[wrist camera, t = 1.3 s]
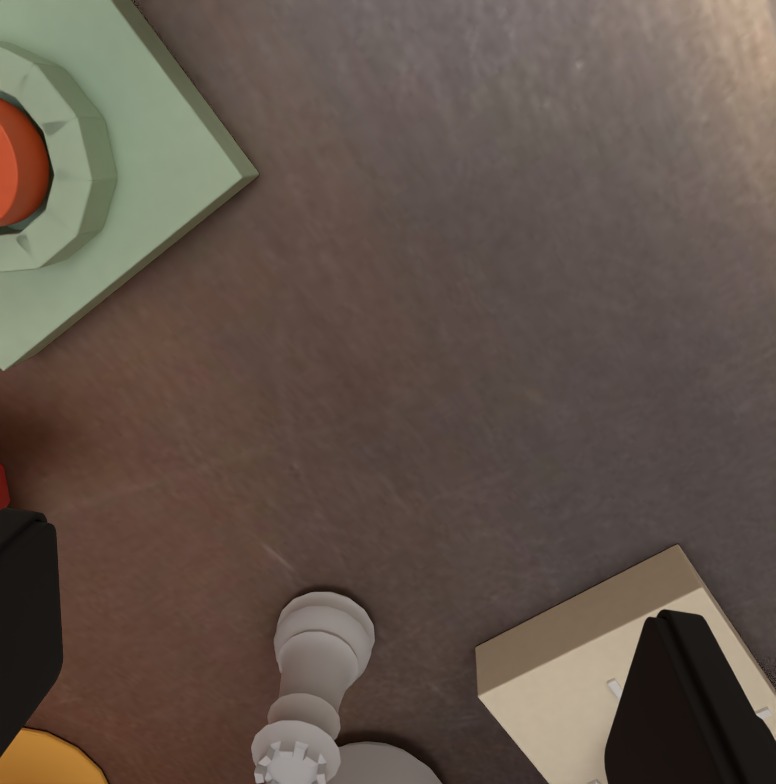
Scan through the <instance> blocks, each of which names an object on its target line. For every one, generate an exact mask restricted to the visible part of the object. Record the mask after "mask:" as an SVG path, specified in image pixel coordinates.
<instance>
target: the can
mask: <svg viewBox="0 0 776 784" xmlns="http://www.w3.org/2000/svg"><path fill="white" fill-rule="evenodd" d="M338 748H339V752H340V760H341V763H340V766H339V768H338V771H337V773H336V775H335V776H334V777H333V778H331V779H330V780H329V781H328V782H326V784H442V783H441V781H440V780H439V779H438V778H437V776H436V775H435V774H434V773H433V771H432V770H431V769H430V768H429V767H428V766H427V765H425V764H424V763H422V762H421V761H419V760H418V759H416V758H415V757H413V756H412V755H410V754H409V753H407V752H406V751H404V750H403V749H400V748H397V747H395V746H392V745H389V744H386V743H379V742H369V741H364V742H357V743H350V744H347V745H344V746H342V747H338Z"/></svg>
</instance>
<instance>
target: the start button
mask: <svg viewBox="0 0 776 784" xmlns="http://www.w3.org/2000/svg"><path fill="white" fill-rule="evenodd" d="M48 183H49V162H48V157H47V153H46V149H45V146H44V144H43V142H42V139H41V137H40V135H39V134H38V132H37V130H36V129H35V127H34V126H33V124H32V123H31V122H30V120H29V119H28V118H27V117H26V116H25V115H24V114H23V113H22V112H21V111H20V110H18V109H17V108H16V107H15V106H13V105H12V104H10V103H9V102H7V101H5V100H3V99H2V98H0V227H1V226H6V225H11V224H15V223H18V222H21V221H22V220H24V219H26V218H28V217H29V216H30V215H32V214H33V213H34V212H35V211H36V210H37V208H38V207H39V206H40V204H41V203H42V201H43V199H44V197H45V194H46V191H47V188H48Z"/></svg>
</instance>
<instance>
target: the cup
mask: <svg viewBox="0 0 776 784" xmlns="http://www.w3.org/2000/svg"><path fill="white" fill-rule="evenodd" d="M0 784H108V783H107V781H106V779H105V776H104V774H103V772H102V770H101V769H100V768H99V767H98V766H97V765H96V764H95V763H94V762H93V761H91V760H90V759H89V758H88V757H87V756H86V755H85V754H84V753H83V752H82V751H81V750H80V749H79V748H78V747H76V746H74V745H72V744H70V743H68V742H66V741H64V740H62V739H60V738H58V737H56V736H54V735H52V734H50V733H48V732H44V731H39V730H34V729H28V728H23V727H22V729H21V730H20V732H19V733H18V734H17V736H16V737H15V738H14V740H13V741H12V743H11V744H10V745H9V747H8V748H7V749H6V751H5V752H4V754H3V755H2V756H1V758H0Z"/></svg>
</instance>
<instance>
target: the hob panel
mask: <svg viewBox="0 0 776 784" xmlns="http://www.w3.org/2000/svg"><path fill="white" fill-rule="evenodd" d="M663 609H667V610H674V611H680V612H687V613H693V614H699V615H701V616H703V617H704V619H705V620H706V621H707V623H708V625H709V627H710V629H711V631H712V633H713V635H714V636H715V638H716V640H717V642H718V644H719V646H720V648H721V650H722V651H723V653H724V655H725V657H726V659H727V661H728V663H729V665H730V666H731V668H732V670H733V672H734V674H735V676H736V678H737V680H738V681H739V683H740V685H741V687H742V689H743V691H744V693H745V695H746V696H747V698H748V700H749V702H750V704H751V706H752V708H753V710H754V711H755V713H756V715H757V716H758V717H760V718H761V719H763V721H764V722H765V724H766V725H767V726H768V728H769V729H770V731H771V733H772V735H773V737H774V739H775V740H776V690H775V688H774V687H773V685H772V684H771V682H770V681H769V679H768V678H767V676H766V675H765V673H764V672H763V670H762V669H761V667H760V666H759V664H758V663H757V661H756V660H755V658H754V657H753V655H752V654H751V652H750V651H749V649H748V648H747V646H746V645H745V643H744V642H743V640H742V639H741V637H740V636H739V634H738V633H737V631H736V630H735V628H734V627H733V625H732V624H731V622H730V621H729V619H728V618H727V616H726V615H725V613H724V612H723V610H722V609H721V607H720V606H719V604H718V603H717V601H716V600H715V598H714V597H713V595H712V594H711V592H710V591H709V589H708V588H707V586H706V585H705V583H704V582H703V580H702V579H701V577H700V576H699V574H698V573H697V571H696V570H695V569H694V567H693V566H692V564H691V563H690V561H689V560H688V558H687V557H686V555H685V554H684V552H683V551H682V549H681V548H680V546H679V545H678V544H677V545H675V546H673V547H671V548H669V549H667V550H665V551H663V552H661V553H659V554H657V555H655V556H653V557H651V558H649V559H647V560H645V561H643V562H641V563H639V564H637V565H635V566H633V567H631V568H630V569H628V570H626V571H624V572H622V573H620V574H618V575H616V576H614V577H612V578H610V579H608V580H606V581H604V582H602V583H600V584H598V585H596V586H594V587H592V588H590V589H588V590H586V591H584V592H583V593H581V594H579V595H577V596H575V597H573V598H571V599H569V600H567V601H565V602H563V603H561V604H559V605H557V606H555V607H553V608H551V609H549V610H547V611H545V612H543V613H541V614H539V615H538V616H536V617H534V618H532V619H530V620H528V621H526V622H524V623H522V624H520V625H518V626H516V627H514V628H512V629H510V630H508V631H506V632H504V633H502V634H500V635H498V636H496V637H494V638H492V639H491V640H489V641H487V642H485V643H483V644H481V645H479V646H477V647H476V648H475V653H476V670H477V688H478V697H479V699H480V700H481V701H482V702H483V704H484V705H485V706H486V707H487V708H488V710H489V711H490V712H491V713H492V715H493V716H494V717H495V718H496V719H497V721H498V722H499V723H500V724H501V726H502V727H503V728H504V729H505V730H506V732H507V733H508V734H509V735H510V736H511V738H512V739H513V740H514V741H515V743H516V744H517V745H518V746H519V747H520V749H521V750H522V751H523V752H524V754H525V755H526V756H527V757H528V758H529V760H530V761H531V762H532V763H533V765H534V766H535V767H536V768H537V769H538V771H539V772H540V773H541V774H542V775H543V777H544V778H545V779H546V780H547V782H548V783H549V784H608V781H607V777H606V772H605V765H604V754H605V747H606V743H607V740H608V737H609V733H610V730H611V727H612V724H613V721H614V717H615V714H616V711H617V708H618V705H619V701H620V698H621V695H622V692H623V689H624V685H625V682H626V679H627V676H628V673H629V669H630V666H631V663H632V660H633V657H634V653H635V650H636V647H637V644H638V641H639V637H640V634H641V631H642V628H643V625H644V622H645V620H646V619H647V618H648V617H657V614H658V613H659V612H660V611H661V610H663Z"/></svg>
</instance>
